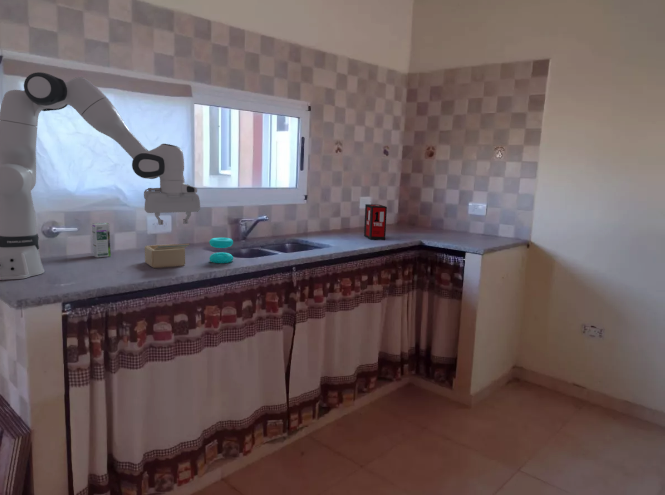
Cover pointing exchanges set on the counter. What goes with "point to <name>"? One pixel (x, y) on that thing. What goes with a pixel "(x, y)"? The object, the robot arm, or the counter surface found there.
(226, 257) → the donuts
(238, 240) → the counter surface
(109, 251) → the syrup box
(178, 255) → the carton
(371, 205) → the cleaning product box
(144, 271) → the counter surface
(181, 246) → the flap
